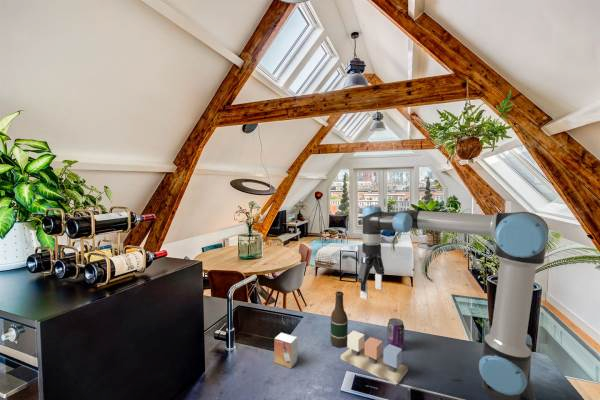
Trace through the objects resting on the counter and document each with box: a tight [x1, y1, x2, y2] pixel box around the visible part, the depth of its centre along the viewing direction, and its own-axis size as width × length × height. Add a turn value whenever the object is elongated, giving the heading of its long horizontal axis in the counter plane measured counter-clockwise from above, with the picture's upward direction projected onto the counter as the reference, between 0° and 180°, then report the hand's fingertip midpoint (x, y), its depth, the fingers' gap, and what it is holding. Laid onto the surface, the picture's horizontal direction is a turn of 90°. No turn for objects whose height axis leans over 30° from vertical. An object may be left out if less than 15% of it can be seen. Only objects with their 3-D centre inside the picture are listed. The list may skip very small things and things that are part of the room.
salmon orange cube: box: [364, 336, 383, 360], centre depth 115 cm, size 5×5×5 cm
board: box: [340, 347, 409, 384], centre depth 115 cm, size 24×11×6 cm, turn 49°
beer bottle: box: [330, 290, 349, 349], centre depth 130 cm, size 8×8×24 cm
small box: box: [273, 332, 298, 369], centre depth 116 cm, size 8×6×10 cm
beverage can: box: [386, 317, 405, 350], centre depth 127 cm, size 7×7×12 cm
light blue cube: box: [382, 344, 403, 368], centre depth 110 cm, size 5×5×5 cm
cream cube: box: [346, 330, 366, 352], centre depth 120 cm, size 5×5×5 cm
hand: (371, 293), depth 119 cm, fingers open, 13 cm apart
